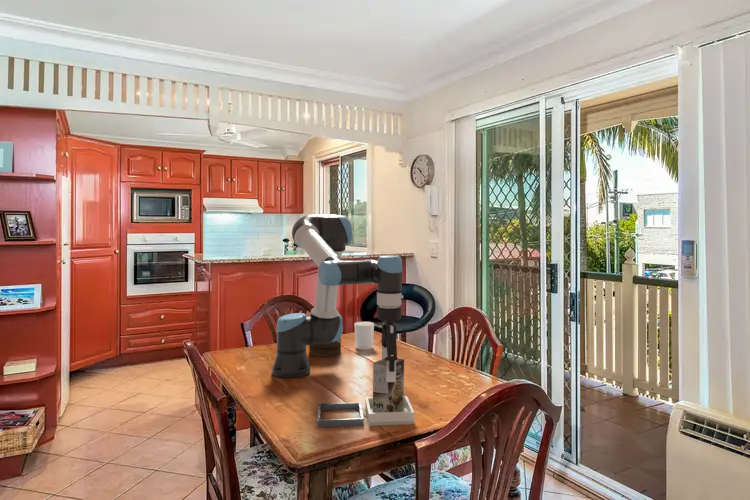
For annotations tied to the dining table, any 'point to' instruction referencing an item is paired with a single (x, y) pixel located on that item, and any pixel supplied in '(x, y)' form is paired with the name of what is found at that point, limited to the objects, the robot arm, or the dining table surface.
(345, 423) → the socket collar
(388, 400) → the coffee box
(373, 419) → the tray
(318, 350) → the wooden container
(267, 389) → the dining table surface
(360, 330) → the candle holder
